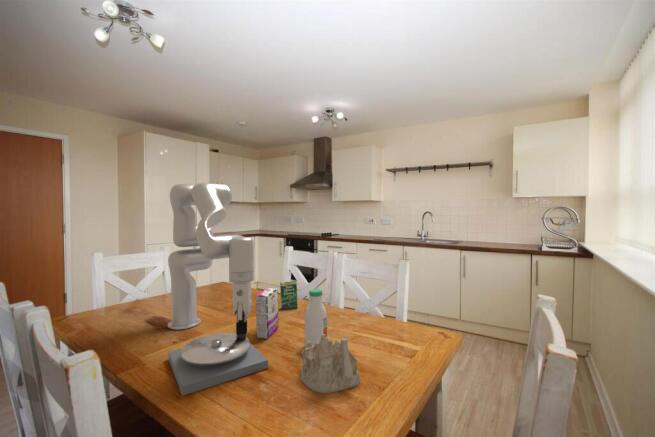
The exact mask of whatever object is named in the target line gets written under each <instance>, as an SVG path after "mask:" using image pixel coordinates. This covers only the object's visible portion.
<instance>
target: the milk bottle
mask: <svg viewBox="0 0 655 437" xmlns="http://www.w3.org/2000/svg"><path fill="white" fill-rule="evenodd" d="M308 293H309V294H308V295H309V296H308V297H309V302H308V304H307V306H306V309H305V313H304V346H305V348H306V347H307V343H308V341H310V342H311V343H312V345H313V346H315V343H320V339H321V335H322V334H325V335H326V337H327V338H328V325H327V324H328V323H327V321H328V318H327V317H328V316H327V310H326V309H327V308H325V305H324V302H323V300H322V297H323V290H322V289H320V288H319V289H318V288H312V289H310V290H309V292H308Z"/></svg>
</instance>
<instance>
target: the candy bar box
mask: <svg viewBox="0 0 655 437" xmlns="http://www.w3.org/2000/svg"><path fill="white" fill-rule="evenodd" d="M278 294H279V293H278V288H275V287H272V288H271V287H267V288H265V289H264V290H263V291H261V292H259V293H258V294H256V295H255V312H256V316H255V317H256V320H255V321H256V338H257V339H266V340H268V339H269V338H271V336H273V334H274V333H275V332H276V331H277V330H278V329H279V300H278V299H279V298H278V297H279V295H278Z"/></svg>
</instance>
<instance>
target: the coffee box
mask: <svg viewBox="0 0 655 437" xmlns="http://www.w3.org/2000/svg"><path fill="white" fill-rule="evenodd" d="M279 285H280V308H281V310H282V311H283V310H292V309H293V310H294V309H298V288H297V286H298V284H297V280H294V281H293V280H292V281H280V283H279Z"/></svg>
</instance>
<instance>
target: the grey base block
mask: <svg viewBox="0 0 655 437" xmlns="http://www.w3.org/2000/svg"><path fill="white" fill-rule="evenodd" d="M182 348H183V347H182ZM182 348H178V349H173V350H169V351H168V352H167V354H168V363H169V364H170V367H171V369H172V371H173V376H174V377H175V381H176V383H177V386H178V388H179V391H180V394H181V396H182V397H183V396H186V395H189V394H193V393H196V392H198V391H202V390H205V389H208V388H211V387H214V386H218V385H219V384H224V383H227V382H229V381H232V380H235V379H239V378H242V377H245V376H249V375H251V374H255V373H257V372H261V371H264V370H266V369H269V360H268V359H267V357H265V356H264V355H263V353H262V352H260V351H259V350H258V349H257V348H256V347H255V346H254V345H253V344H252V343H251V342H250V341H249V349H248V351H247V352H246V353H245V354H243V355H242V356H240V357H239V358H236V359H234V360H232V361H229V362H225V363H222V364H216V365H208V366H200V365H192V364H189V363H186V362H185V361H183V359H182V357H181V351H182Z"/></svg>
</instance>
